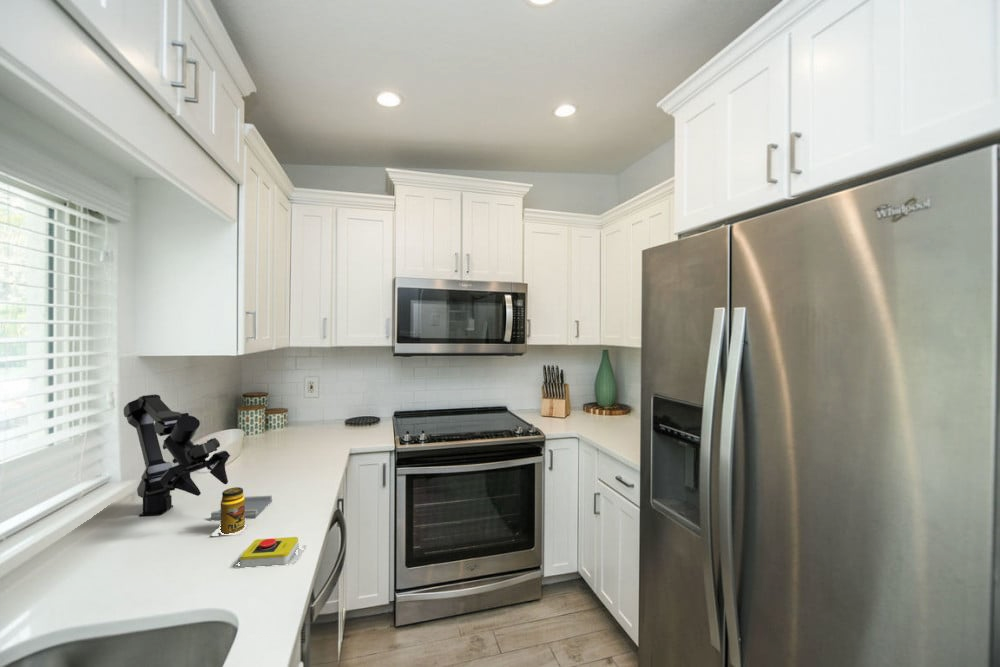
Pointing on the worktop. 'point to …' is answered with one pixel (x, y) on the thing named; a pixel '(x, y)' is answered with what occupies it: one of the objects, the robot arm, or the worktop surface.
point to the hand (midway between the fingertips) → (213, 488)
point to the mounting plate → (251, 505)
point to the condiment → (232, 510)
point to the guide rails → (252, 498)
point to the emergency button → (271, 552)
